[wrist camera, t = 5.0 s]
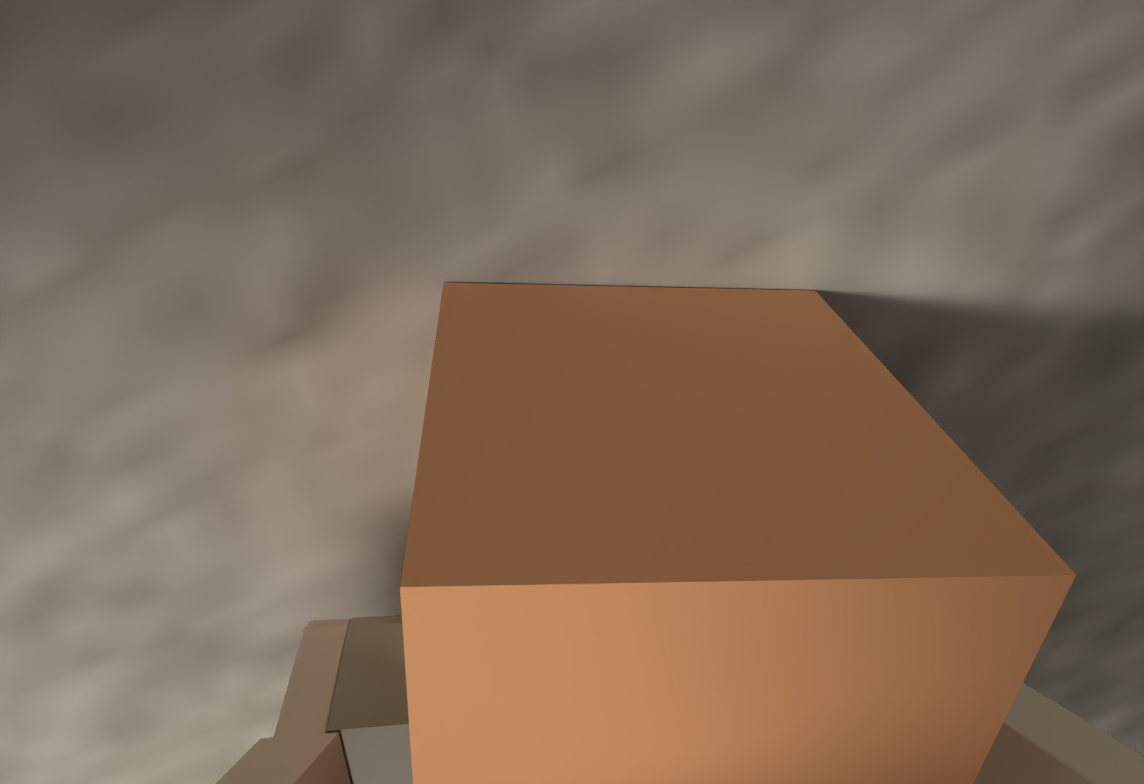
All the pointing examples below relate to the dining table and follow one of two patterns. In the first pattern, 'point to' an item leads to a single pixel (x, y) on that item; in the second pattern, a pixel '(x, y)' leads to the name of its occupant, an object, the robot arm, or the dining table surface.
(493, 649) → the brick
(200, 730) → the dining table surface
